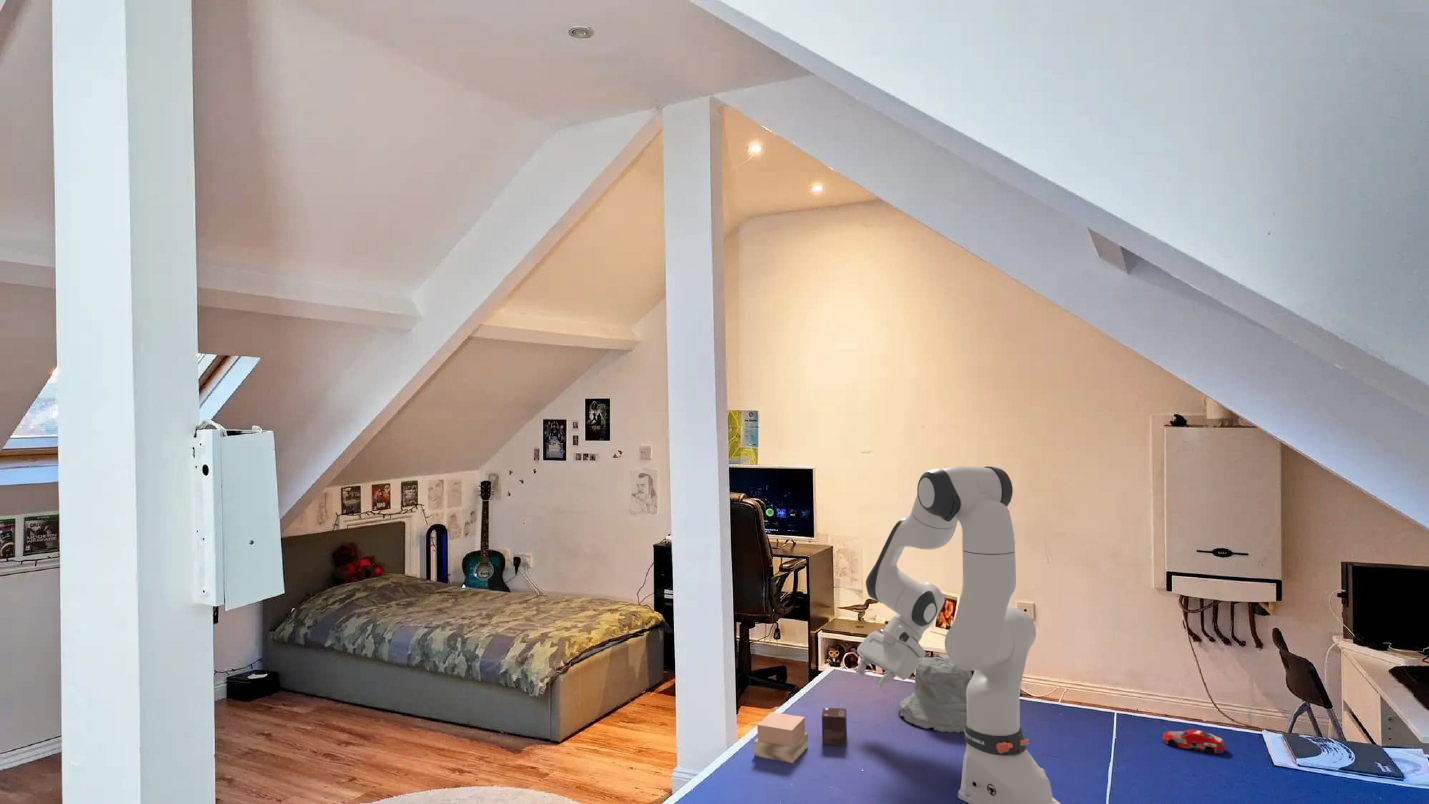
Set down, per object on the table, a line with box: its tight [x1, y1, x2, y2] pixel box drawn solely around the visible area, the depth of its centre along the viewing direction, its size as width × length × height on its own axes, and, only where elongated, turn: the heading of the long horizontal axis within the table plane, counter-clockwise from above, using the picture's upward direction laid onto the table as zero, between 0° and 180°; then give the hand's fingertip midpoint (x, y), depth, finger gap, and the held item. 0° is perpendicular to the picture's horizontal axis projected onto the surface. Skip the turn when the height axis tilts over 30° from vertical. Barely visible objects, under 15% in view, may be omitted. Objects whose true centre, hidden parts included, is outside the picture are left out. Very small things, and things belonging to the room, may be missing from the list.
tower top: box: [756, 711, 806, 747], centre depth 206 cm, size 9×9×4 cm
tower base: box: [753, 731, 809, 764], centre depth 206 cm, size 10×10×4 cm
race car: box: [1162, 729, 1226, 755], centre depth 204 cm, size 13×5×4 cm, turn 55°
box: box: [821, 707, 848, 747], centre depth 212 cm, size 6×6×7 cm
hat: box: [897, 656, 973, 734], centre depth 226 cm, size 26×23×15 cm
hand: (868, 680), depth 216 cm, fingers open, 8 cm apart
